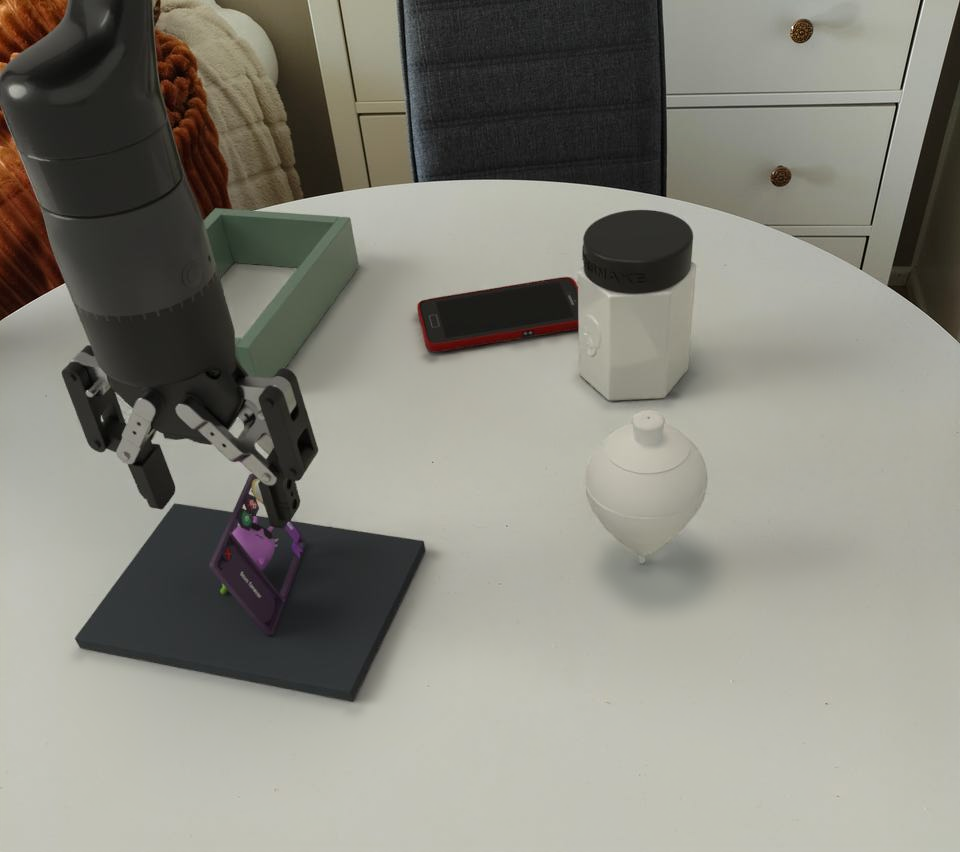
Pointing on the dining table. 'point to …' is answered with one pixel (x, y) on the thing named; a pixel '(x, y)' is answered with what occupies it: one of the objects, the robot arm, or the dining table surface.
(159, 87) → the robot arm
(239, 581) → the game card
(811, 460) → the dining table surface
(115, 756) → the dining table surface
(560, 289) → the cell phone
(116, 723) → the dining table surface
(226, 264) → the green rectangular tray frame
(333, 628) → the mat
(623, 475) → the spinning top
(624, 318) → the jar
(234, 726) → the dining table surface
